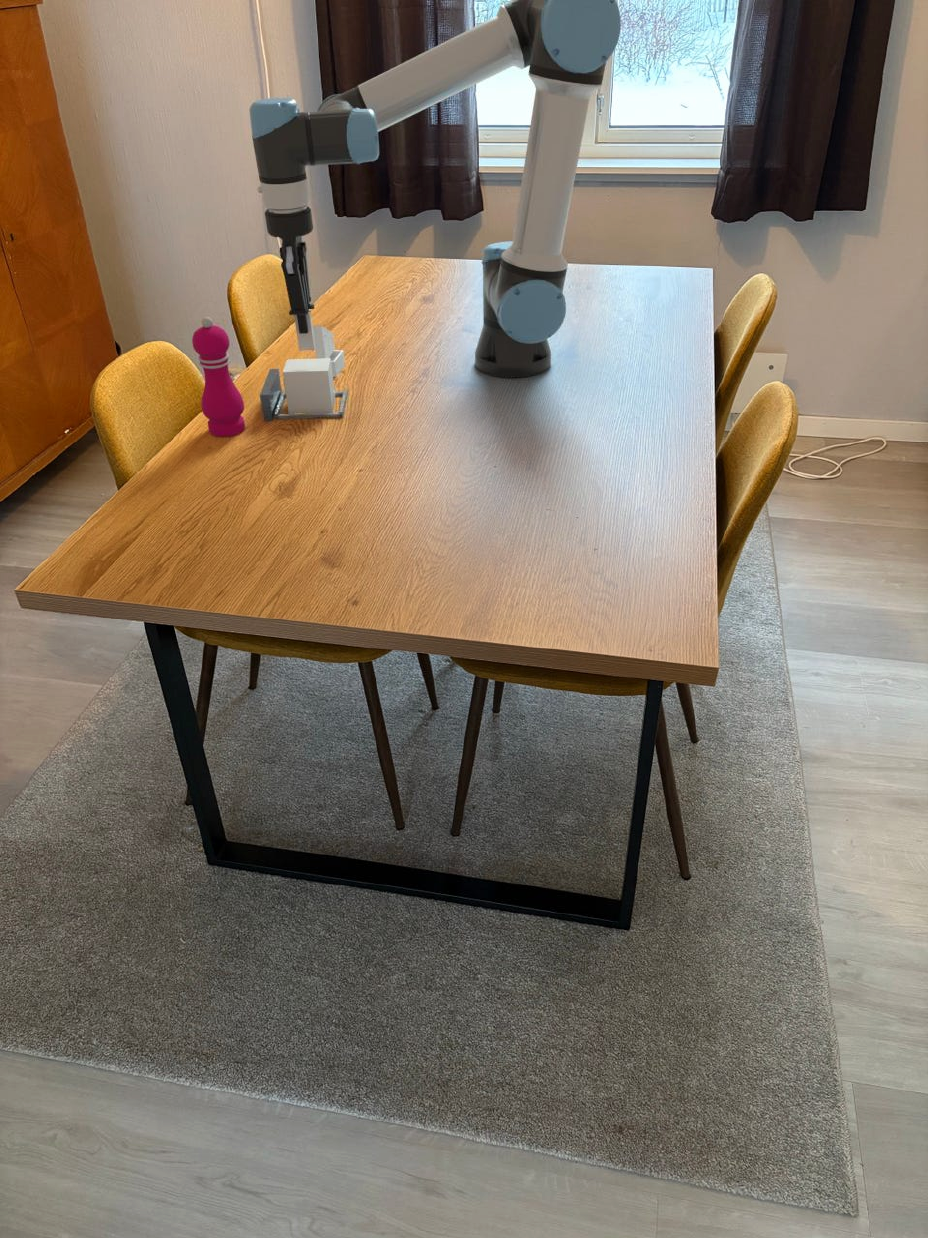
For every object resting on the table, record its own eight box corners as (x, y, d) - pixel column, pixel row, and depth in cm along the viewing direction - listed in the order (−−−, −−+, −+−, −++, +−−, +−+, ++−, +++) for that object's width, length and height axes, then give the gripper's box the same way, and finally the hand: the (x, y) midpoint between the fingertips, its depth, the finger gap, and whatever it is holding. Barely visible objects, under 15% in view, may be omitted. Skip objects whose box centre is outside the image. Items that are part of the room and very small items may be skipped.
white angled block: (309, 372, 180) (312, 325, 178) (326, 379, 189) (329, 335, 188) (328, 373, 179) (330, 326, 178) (344, 380, 189) (346, 335, 188)
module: (335, 399, 175) (330, 357, 171) (332, 412, 170) (327, 370, 166) (291, 400, 175) (286, 359, 170) (287, 414, 170) (281, 372, 166)
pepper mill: (255, 423, 167) (236, 311, 155) (234, 440, 162) (213, 326, 150) (220, 418, 169) (199, 308, 157) (198, 435, 164) (175, 322, 152)
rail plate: (348, 392, 178) (345, 366, 175) (342, 419, 168) (339, 392, 165) (273, 394, 178) (269, 368, 175) (263, 421, 168) (259, 394, 165)
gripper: (270, 198, 157) (291, 336, 172) (257, 218, 147) (281, 363, 161) (314, 196, 157) (332, 334, 172) (305, 216, 147) (324, 361, 161)
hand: (307, 348), depth 166 cm, fingers closed
